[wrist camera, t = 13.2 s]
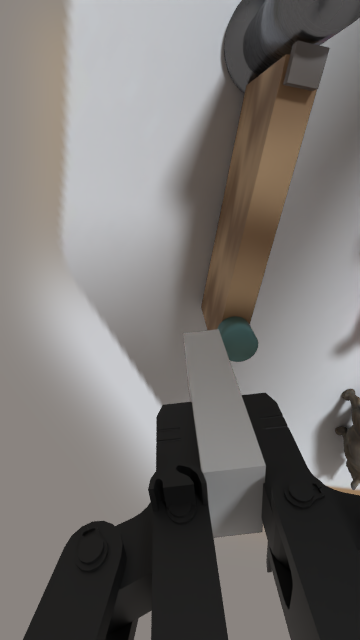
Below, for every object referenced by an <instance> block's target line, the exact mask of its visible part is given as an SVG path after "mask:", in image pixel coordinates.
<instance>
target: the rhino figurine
mask: <svg viewBox="0 0 360 640" xmlns="http://www.w3.org/2000/svg"><path fill="white" fill-rule="evenodd" d="M342 396H343V398H344V399H345V400H348V401H349V400H350V402H351V406H352V421H353V425H352V426H351V427H350V428H349V429H348V430H347V428H346V427H344V426H342V427H339V428H336V429H335V431H336V433H337V434H338V435H342V436H343V438H344V452H345V456H346V458H347V462H346V464H347V465H346V466H347V467H348V470H349V472H350V473H351V476H352V478H353V481H352V483H351V487H352V489H353V490H355V488H356V487H357V486H358V484H359V483H360V398H359V397H357V396H356V395H355V391H354V390H353V389H349V390H346V391H345V392H344V393H343V394H342Z"/></svg>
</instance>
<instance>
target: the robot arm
mask: <svg viewBox="0 0 360 640" xmlns="http://www.w3.org/2000/svg"><path fill="white" fill-rule="evenodd" d="M183 338H184V348H185V358H186V368H187V378H188V388H189V395H190V402H186V403H177V404H168V405H163V406H162V408H161V409H160V411H159V413H158V415H157V446H156V448H157V449H156V450H157V451H156V472H155V473H154V475H153V476H152V478H151V480H150V484H149V489H148V491H149V495H150V500H151V503H150V504H149V505H148V507H147V508H146V509H145V510H144V511H142V513H140V514H138V515H137V516H135V517H134V518H132V519H130V520H128V521H125V522H123V523H121V524H119V525H117V526H114V525H113V524H111V523H108V522H105V521H95V522H91V523H89V524H87V525H85V526H82V527H81V528H80V529H79V530H78V531H77V532H75V533H74V534H73V535H72V536H71V538H70V539H69V541H68V542H67V544H66V546H65V547H64V550H63V552H62V554H61V556H60V558H59V561H58V563H57V565H56V567H55V569H54V572H53V574H52V576H51V579H50V581H49V583H48V585H47V587H46V589H45V592H44V594H43V596H42V598H41V601H40V603H39V605H38V608H37V610H36V612H35V614H34V616H33V618H32V621H31V623H30V625H29V627H28V630H27V632H26V634H25V636H24V639H23V640H134V636H135V631H136V627H137V622H138V618H139V617H141V616H143V615H144V614H146V613H148V612H150V611H151V610H152V628H151V629H152V630H151V640H228V635H227V628H226V622H225V615H224V608H223V601H222V594H221V587H220V581H219V573H218V567H217V561H216V553H215V546H214V540H213V538H215V537H225V536H233V535H241V534H249V533H259V532H262V527H263V525H264V528H265V532H266V535H267V539H268V548H267V572H272V571H273V575H274V579H275V583H276V586H277V590H278V594H279V597H280V601H281V605H282V608H283V612H284V616H285V620H286V623H287V626H288V631H289V634H290V638H291V640H360V496H359V495H354V494H349V493H343V492H340V491H337V490H334V489H331V488H329V487H327V486H325V485H324V484H323V483H322V482H321V481H320V480H318V479H317V478H316V477H314V476H313V475H312V474H311V472H310V470H309V469H308V467H307V465H306V463H305V461H304V459H303V457H302V455H301V453H300V451H299V449H298V446H297V444H296V442H295V440H294V438H293V436H292V434H291V432H290V430H289V428H288V427H287V423H286V421H285V419H284V417H283V416H282V413H281V411H280V409H279V407H278V405H277V402H275V401H274V400H273V399H272V398H271V397H270V396H269V395H268V394H266V393H258V394H249V395H241V392H240V389H239V387H238V384H237V381H236V378H235V375H234V372H233V369H232V366H231V363H230V361H229V358H228V355H227V352H226V349H225V346H224V343H223V340H222V337H221V335H220V332H219V329H216V330H207V331H198V332H189V333H183Z"/></svg>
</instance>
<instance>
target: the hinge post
mask: <svg viewBox="0 0 360 640" xmlns="http://www.w3.org/2000/svg"><path fill="white" fill-rule="evenodd" d="M359 17H360V0H242V1H241V2H240V4H239V5H238V6H237V8H236V10H235V11H234V13H233V15H232V17H231V20H230V22H229V25H228V28H227V31H226V36H225V44H224V53H225V61H226V66H227V69H228V72H229V74H230V77H231V78H232V80H233V82H234V83H235V84H236V86H237V87H238V88H239V89H240V90H241V91H243V92H244V93H245V90H246V85H248V84H249V83H250V82H252V81H253V80H254V79H255V78H257V77H258V76H259V75H260V74H262V73H263V72H264V71H266V70H267V69H268V68H269V67H271V66H272V65H273V64H274V63H276V62H277V61H278V60H280V59H281V58H282V57H283V56H285V55H286V54H288V55H290V54H291V50H292V46H293V44H294V43H295V42H297V41H302V42H306V43H310V44H315V45H321V44H322V43H324V42H325V41H327V40H328V39H330V38H331V37H333V36H334V35H336V34H337V33H339V32H340V31H341V30H343V29H344V28H346V27H347V26H349V25H350V24H352V23H353V22H355V21H356V20H357V19H358V18H359Z"/></svg>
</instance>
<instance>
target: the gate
mask: <svg viewBox="0 0 360 640" xmlns="http://www.w3.org/2000/svg"><path fill="white" fill-rule="evenodd" d="M328 52H329V48H328V47H323V46H319V45H315V44H310V43H306V42H302V41H297V42H295V43H294V44H293V46H292V50H291V54H290V55H288V54H286V55H285V56H283V57H282V58H281V59H280V60H278V61H277V62H276V63H274V64H273V65H272V66H271V67H269V68H268V69H267V70H266V71H264V72H263V73H262V74H260V75H259V76H258V77H257V78H255V79H254V80H253V81H252V82H250V83H249V84H248V85H246V90H245V95H244V100H243V104H242V109H241V114H240V119H239V124H238V129H237V134H236V139H235V144H234V149H233V154H232V158H231V163H230V168H229V173H228V178H227V183H226V188H225V193H224V198H223V203H222V208H221V213H220V217H219V222H218V227H217V232H216V237H215V242H214V247H213V252H212V257H211V262H210V267H209V271H208V276H207V281H206V286H205V291H204V296H203V301H202V306H201V308H202V312H203V315H204V319H205V323H206V326H207V330H216V329H219V332H220V335H221V337H222V340H223V343H224V346H225V349H226V352H227V355H228V358H229V360H231V361H235V362H241V361H245V360H247V359H249V358H251V357H252V356H253V355H254V354H255V352H256V351H257V348H258V340H257V338H256V336H255V334H254V332H253V331H252V329H251V327H250V325H249V324H250V321H251V317H252V314H253V310H254V307H255V303H256V300H257V296H258V293H259V290H260V286H261V283H262V279H263V276H264V272H265V269H266V265H267V262H268V258H269V255H270V251H271V248H272V244H273V241H274V237H275V234H276V230H277V227H278V223H279V220H280V216H281V213H282V209H283V206H284V203H285V199H286V196H287V192H288V189H289V185H290V182H291V178H292V175H293V171H294V168H295V164H296V161H297V157H298V154H299V150H300V147H301V143H302V140H303V136H304V133H305V129H306V126H307V122H308V119H309V115H310V112H311V109H312V105H313V102H314V98H315V95H316V91H317V89H318V87H319V83H320V80H321V76H322V73H323V69H324V66H325V62H326V59H327V55H328Z"/></svg>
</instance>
